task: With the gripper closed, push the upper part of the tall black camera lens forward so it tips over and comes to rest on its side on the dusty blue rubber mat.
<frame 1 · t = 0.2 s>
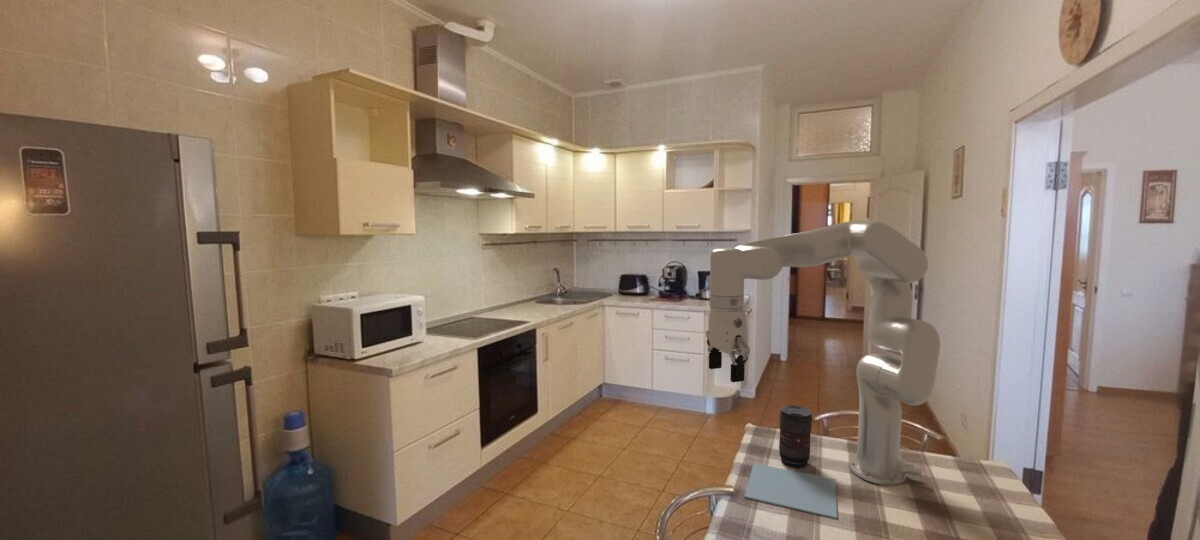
hand: (725, 374, 109), 31 cm above the table, tool pointing down, fingers open, 9 cm apart
blue mat: (791, 488, 117), on the table
camera lens: (794, 463, 129), on the table
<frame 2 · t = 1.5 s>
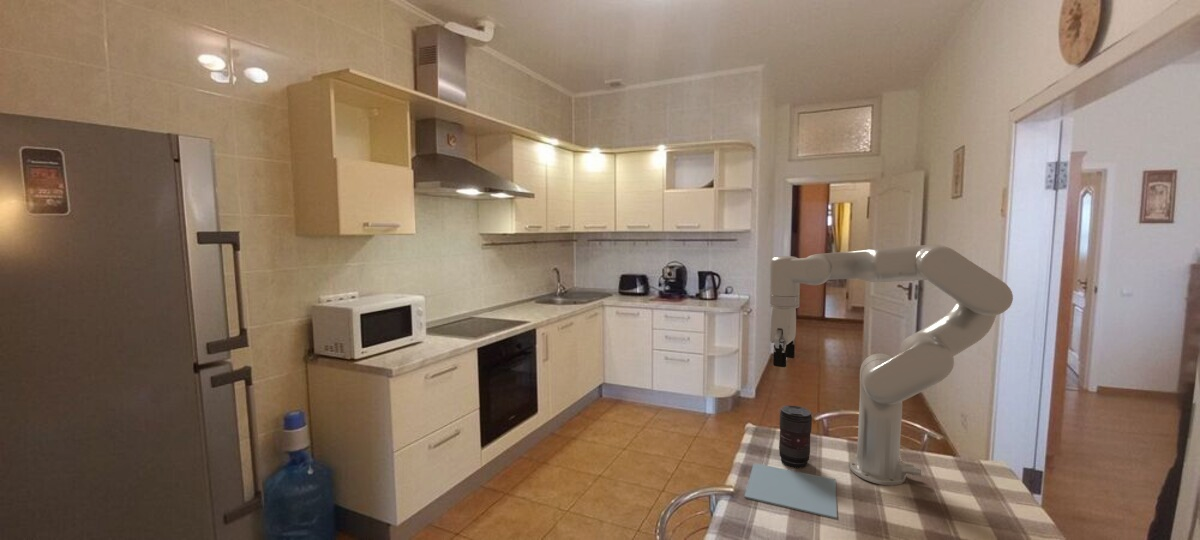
hand: (784, 361, 131), 27 cm above the table, tool pointing down, fingers open, 9 cm apart
nothing on the table moved.
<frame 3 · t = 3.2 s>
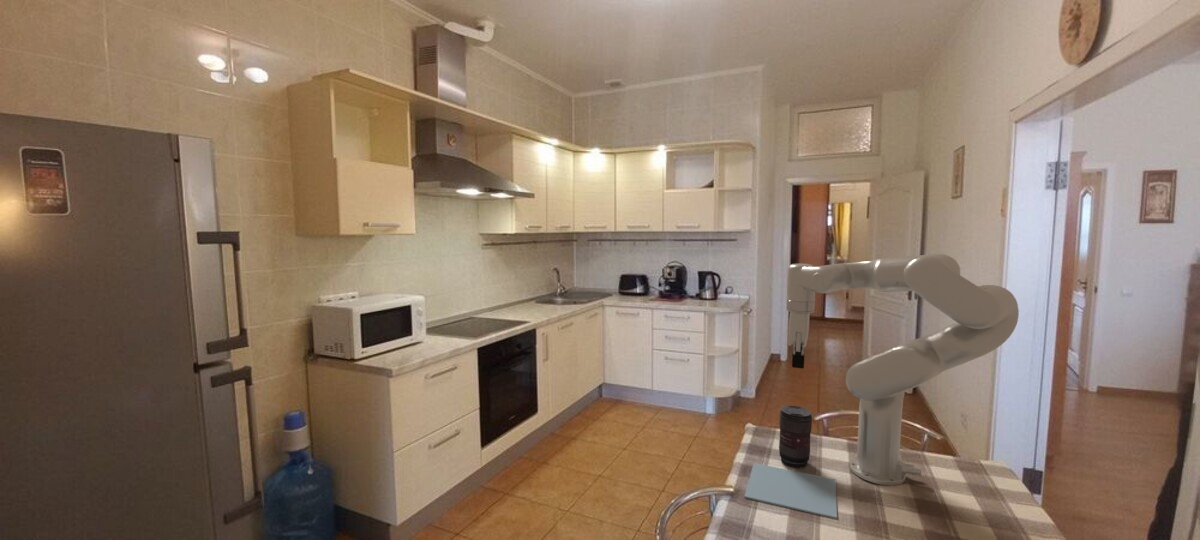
hand: (798, 367, 139), 23 cm above the table, tool pointing down, fingers closed
nothing on the table moved.
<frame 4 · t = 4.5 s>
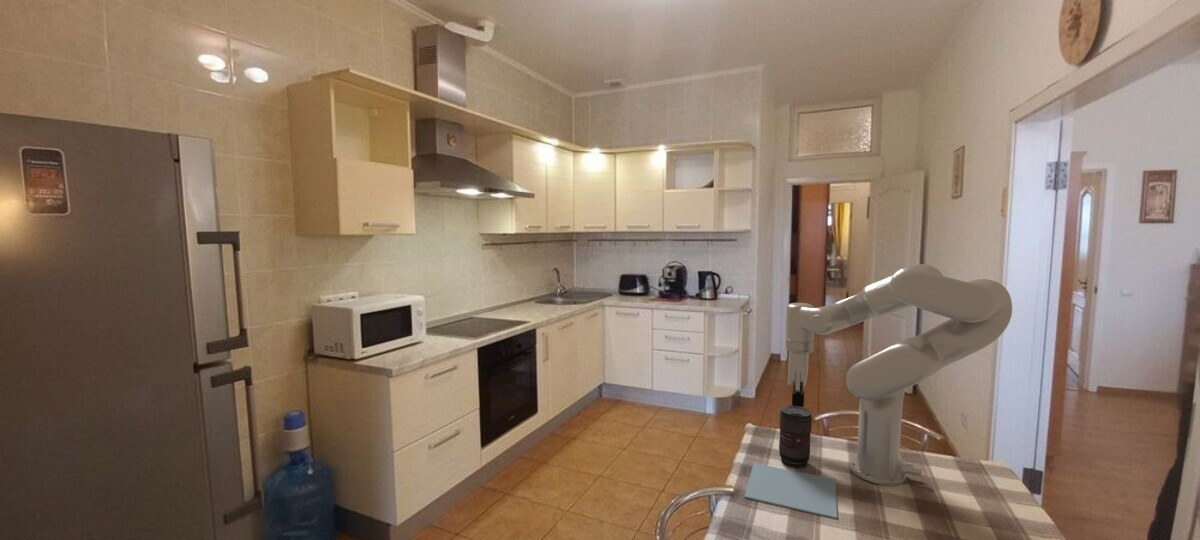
hand: (797, 405, 140), 12 cm above the table, tool pointing down, fingers closed
nothing on the table moved.
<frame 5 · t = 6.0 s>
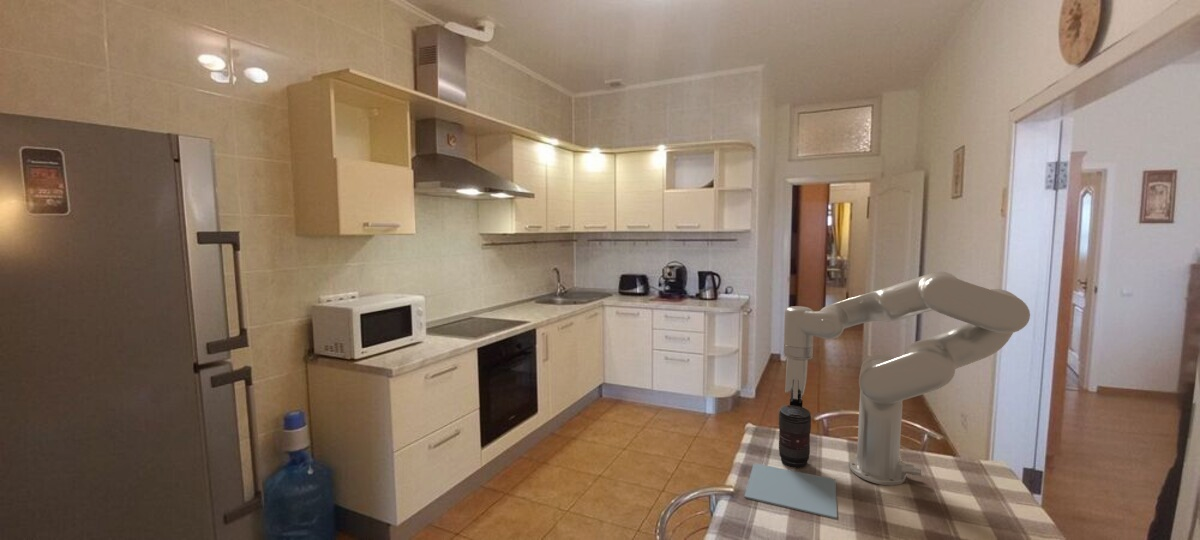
hand: (795, 413, 133), 12 cm above the table, tool pointing down, fingers closed
nothing on the table moved.
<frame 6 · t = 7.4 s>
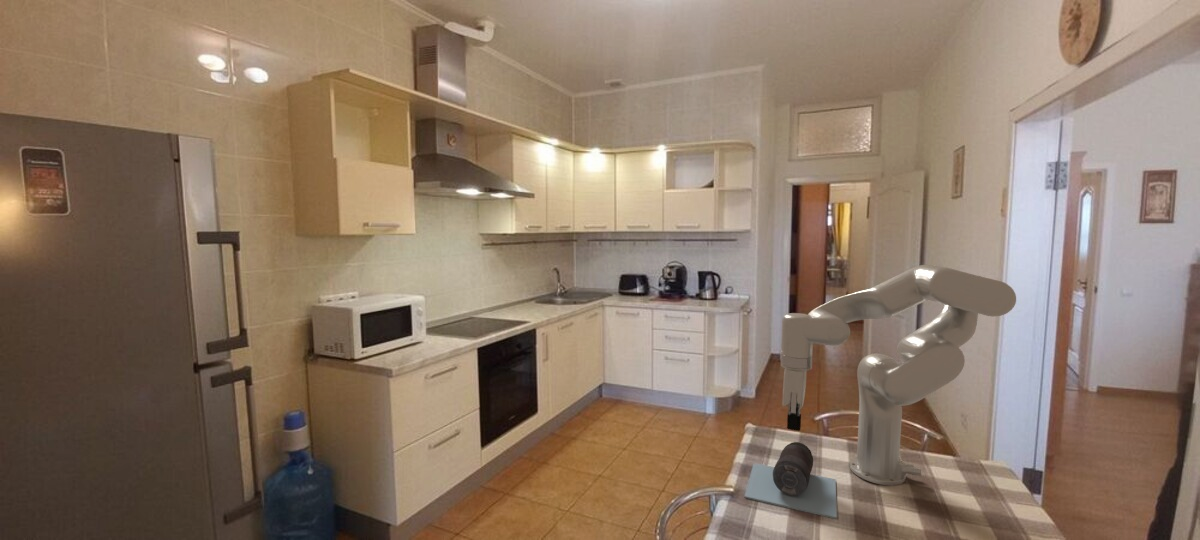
hand: (793, 428, 124), 12 cm above the table, tool pointing down, fingers closed
camera lens: (799, 453, 125), point 4 cm above the table, touching blue mat
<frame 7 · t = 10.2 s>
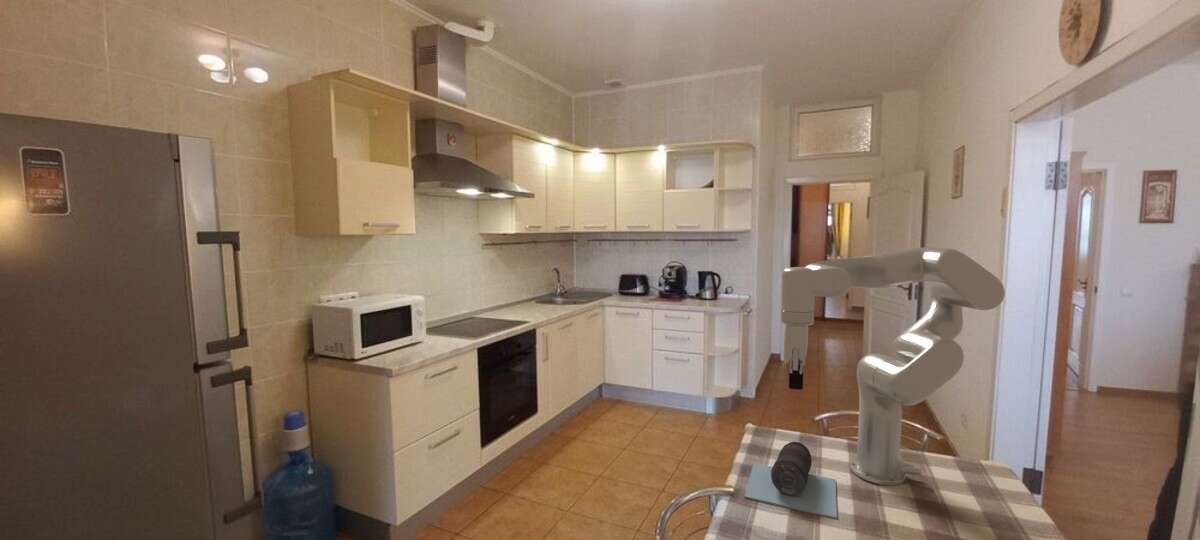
hand: (795, 388, 119), 24 cm above the table, tool pointing down, fingers closed
nothing on the table moved.
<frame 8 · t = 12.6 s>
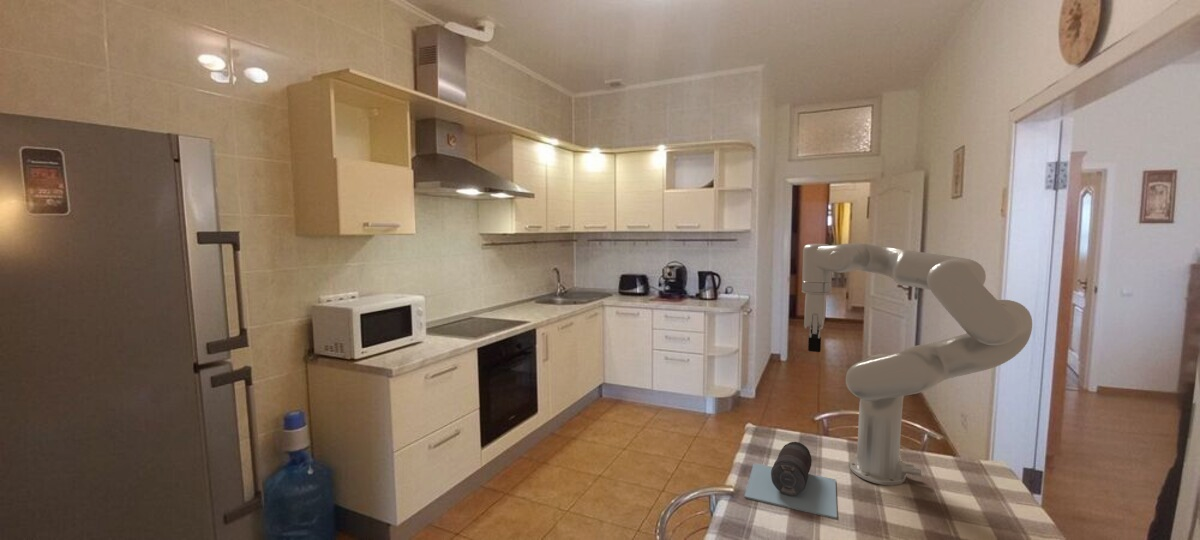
hand: (814, 350, 135), 29 cm above the table, tool pointing down, fingers closed
nothing on the table moved.
at the end: camera lens tilted 90°; camera lens touching blue mat; camera lens inside the target area (3.8 cm from its centre), point 4.3 cm above the table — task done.
